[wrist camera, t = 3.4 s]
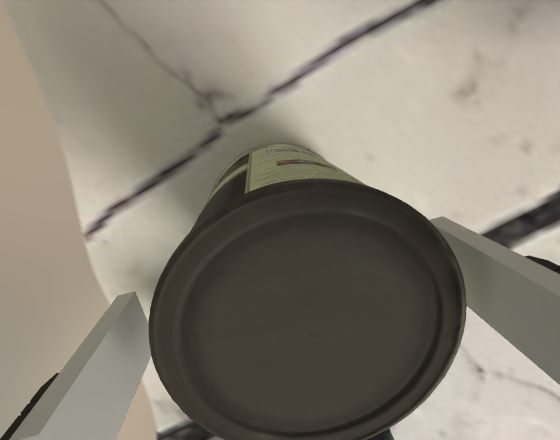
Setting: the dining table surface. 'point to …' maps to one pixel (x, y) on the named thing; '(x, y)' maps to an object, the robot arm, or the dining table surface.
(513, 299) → the robot arm
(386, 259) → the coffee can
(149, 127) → the dining table surface
